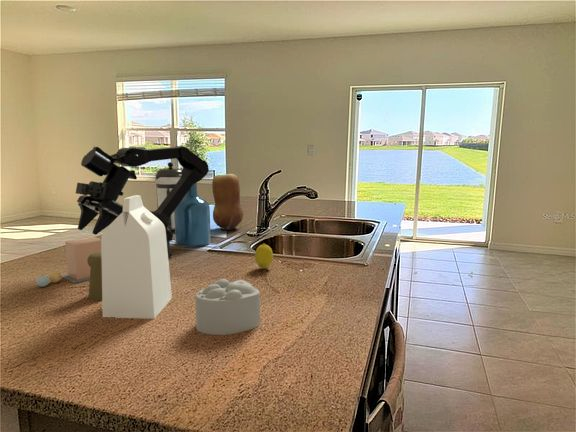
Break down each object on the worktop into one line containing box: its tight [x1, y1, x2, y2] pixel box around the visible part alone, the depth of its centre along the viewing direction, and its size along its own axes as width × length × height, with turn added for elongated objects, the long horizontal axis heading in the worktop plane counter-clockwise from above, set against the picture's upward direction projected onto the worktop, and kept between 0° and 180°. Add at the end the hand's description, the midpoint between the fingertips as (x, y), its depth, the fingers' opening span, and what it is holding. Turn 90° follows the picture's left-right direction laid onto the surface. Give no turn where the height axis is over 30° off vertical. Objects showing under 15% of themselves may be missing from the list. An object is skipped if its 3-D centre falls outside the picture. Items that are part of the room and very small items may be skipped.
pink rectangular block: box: [64, 236, 101, 280], centre depth 115 cm, size 8×6×10 cm
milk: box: [100, 194, 173, 320], centre depth 91 cm, size 12×12×26 cm
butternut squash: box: [211, 173, 245, 231], centre depth 178 cm, size 14×13×25 cm
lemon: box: [254, 243, 274, 270], centre depth 122 cm, size 6×6×8 cm
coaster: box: [61, 273, 90, 284], centre depth 116 cm, size 11×9×1 cm
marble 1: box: [35, 274, 51, 288], centre depth 107 cm, size 3×3×3 cm
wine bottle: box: [174, 183, 211, 248], centre depth 151 cm, size 14×13×30 cm
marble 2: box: [48, 271, 62, 284], centre depth 110 cm, size 3×3×3 cm
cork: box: [87, 252, 102, 301], centre depth 100 cm, size 6×6×11 cm
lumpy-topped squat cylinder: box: [195, 278, 261, 336], centre depth 85 cm, size 10×13×9 cm
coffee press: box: [154, 162, 183, 234], centre depth 177 cm, size 17×16×30 cm
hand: (86, 231), depth 115 cm, fingers open, 9 cm apart
